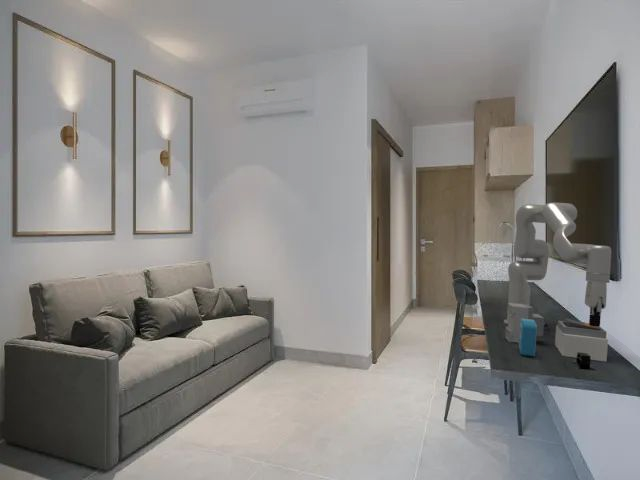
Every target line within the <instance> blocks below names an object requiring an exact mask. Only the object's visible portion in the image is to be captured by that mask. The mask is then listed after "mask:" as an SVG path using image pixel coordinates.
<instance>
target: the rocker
mask: <svg viewBox="0 0 640 480" xmlns="http://www.w3.org/2000/svg"><path fill="white" fill-rule="evenodd" d="M564 321H565V323H566V324H567V325H568V326H572V327H576V328H582V329H591V330H599V329H598V328H597V327H596V326H591V325H590V324H589V322H584V321H578V320H574V319H570V318H566V317H565V319H564Z"/></svg>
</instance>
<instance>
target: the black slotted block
mask: <svg viewBox="0 0 640 480" xmlns="http://www.w3.org/2000/svg"><path fill="white" fill-rule="evenodd" d="M569 361H570V362H571V364H573V365H574V366H575V367H576V368H577V369H579V370H585V371H594V372H596V371H597V369H595V367H593V366H592V365H591V361H592V360H591V359H590V356H589V355H588V354H587V353H580V352H577V358H576V360H570V359H569Z"/></svg>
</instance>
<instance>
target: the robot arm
mask: <svg viewBox="0 0 640 480" xmlns="http://www.w3.org/2000/svg"><path fill="white" fill-rule="evenodd" d="M577 218H578V209H577V208H576V206H575V205H574V204H572V203H568V202H567V203H566V202H548V203H546V204H537V203H534V204H532V203H529V204H524V205H521V206H520V207H519V208H518V210H516V214H515V224H516V225H515V226H516V230H515V231H516V232H515V237H514V238H515V239H514V248H513V249H514V250H513V252H514V255H515V257H517V258H520V259H532V260H514V261H512V262H510V264H509V265H508V268H507V272H508V273H507V274H508V278H509V279H508V281H509V284H508V285H509V286H508V301H507V302H508V303H514V304H527V305H529V306H531V305H530V303H531V302H530V301H531V287H530V285H529V282H528V281H541V280H544V279H545V278H546V275H547V271H548V264H549V258H550V247H549V244H548V242H546V241H545V240H543V239H538V238H537V239H536V233H537V232H536V228H535V225H534V224H533V223H535V224H536V223H538V224H547V225H548V226H549V228H550V229H551V230H552V232H553V233H554V234H553V239H552V240H553V248H554V250H555V251H556V253H557V254H558V255H559V257H560V258H561V259H562V260H564V262H567V263H581V264H586V270H585V272H586V273H585V281H586V286H585V287H586V288H585V294H584V295H585V296H584V305H586V306H587V307H589V321H588V323H589V324H590V325H591V326H600V327H601V315H602V309H603V310H604V309H606V306H607V289H608V288H607V284H610V278H611V277H610V276H611V265H612V264H611V263H612V248H611V247H610V246H608V245H599V244H597V245H596V244H588V243H587V244H586V243H572V242H570V240H569V239H568V238H567V237H569V236H571V235H572V234H573V233H574V232H575V231H576V229H577V224H576V223H575V222H574V221H575V220H576V219H577ZM508 303H507V304H508ZM503 323H504V324H505V325H508V323H509V316H508V315H507V317H506V318H505V319H503Z"/></svg>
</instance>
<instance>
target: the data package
mask: <svg viewBox="0 0 640 480" xmlns="http://www.w3.org/2000/svg"><path fill="white" fill-rule="evenodd" d="M536 332H537V325H536V323H535V322H534V320H531V319H522V318H521V322H520V337H519V343H518V348H519V352H520V355H521V356H525V357H532V356H533V358H535V356H536V345H537V336H536Z"/></svg>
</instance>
